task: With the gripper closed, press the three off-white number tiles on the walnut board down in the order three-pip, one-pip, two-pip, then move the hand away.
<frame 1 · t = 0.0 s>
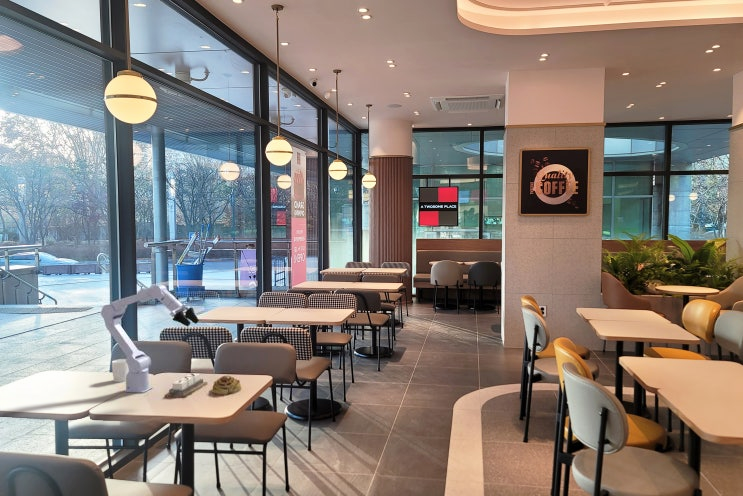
hand: (193, 323, 244), 32 cm above the table, tool tilted 50°, fingers open, 7 cm apart
pastry: (226, 391, 248), on the table
tile one: (179, 384, 243), point 4 cm above the table, slide at 0.0 cm
board: (186, 390, 249), on the table
tile three: (193, 377, 255), point 4 cm above the table, slide at 0.0 cm
white cup: (121, 380, 267), on the table
tile two: (186, 381, 249), point 4 cm above the table, slide at 0.0 cm
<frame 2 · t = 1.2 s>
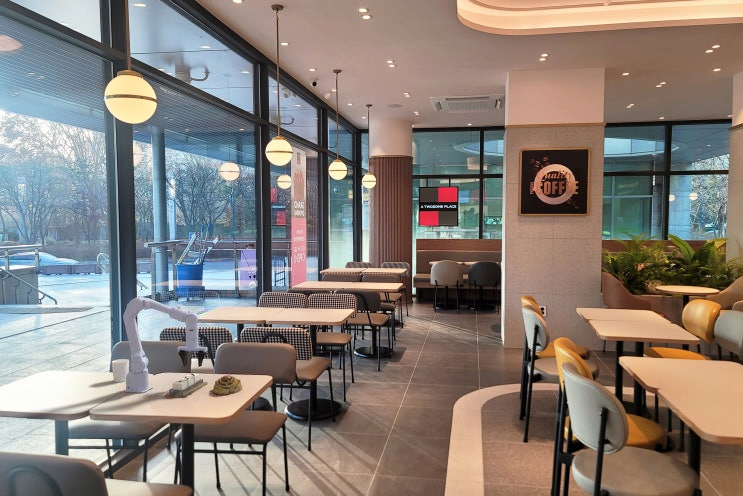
hand: (192, 366, 255), 10 cm above the table, tool pointing down, fingers open, 7 cm apart
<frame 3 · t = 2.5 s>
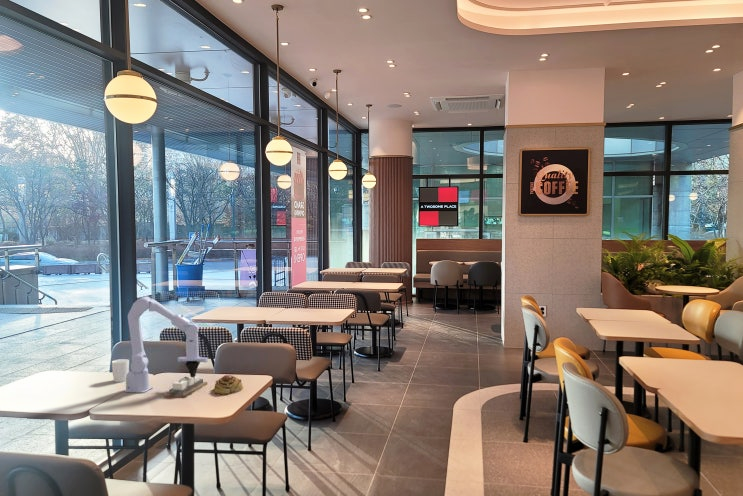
hand: (193, 376, 255), 5 cm above the table, tool pointing down, fingers closed, pressing on tile three
tile three: (193, 380, 255), point 3 cm above the table, slide at 1.2 cm, touching gripper
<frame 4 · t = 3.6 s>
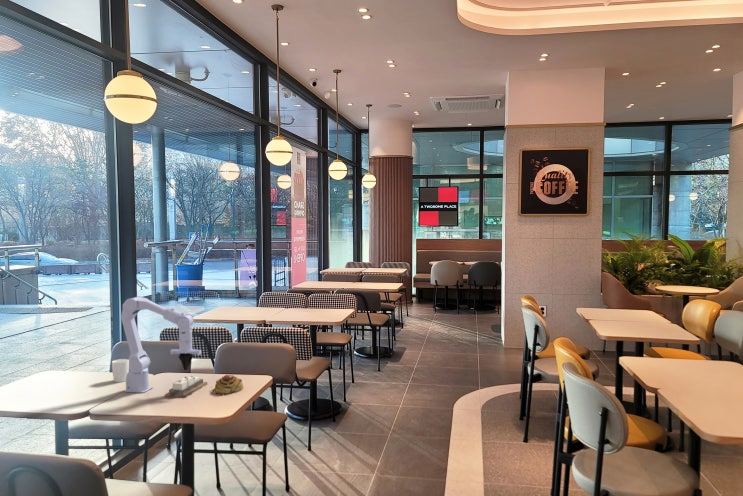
hand: (186, 369, 249), 10 cm above the table, tool pointing down, fingers closed
tile three: (193, 380, 255), point 3 cm above the table, slide at 1.4 cm
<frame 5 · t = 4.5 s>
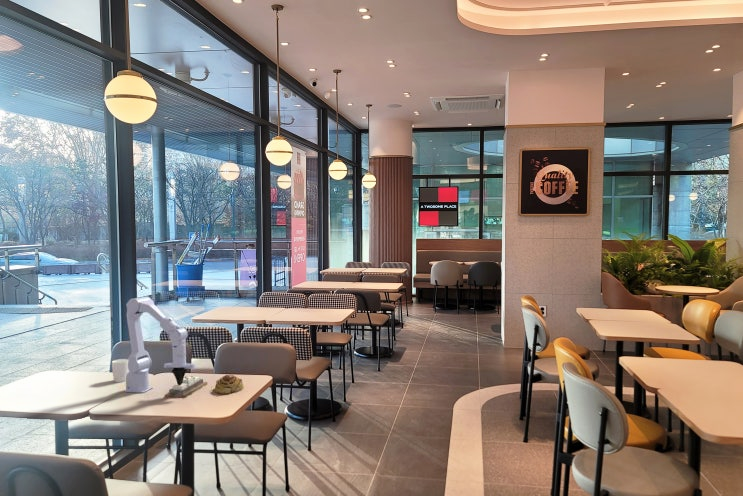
hand: (179, 384, 243), 5 cm above the table, tool pointing down, fingers closed, pressing on tile one
tile one: (179, 387, 243), point 3 cm above the table, slide at 1.3 cm, touching gripper
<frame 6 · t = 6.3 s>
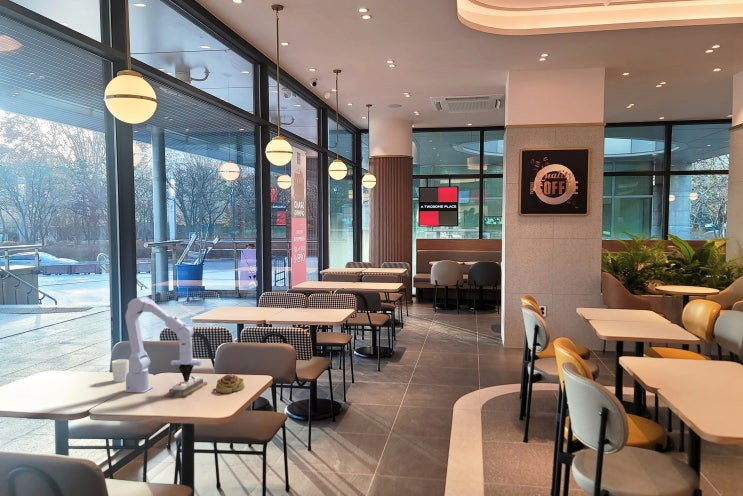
hand: (186, 380, 249), 5 cm above the table, tool pointing down, fingers closed, pressing on tile two
tile one: (180, 387, 243), point 3 cm above the table, slide at 1.4 cm
tile two: (186, 384, 249), point 3 cm above the table, slide at 1.3 cm, touching gripper
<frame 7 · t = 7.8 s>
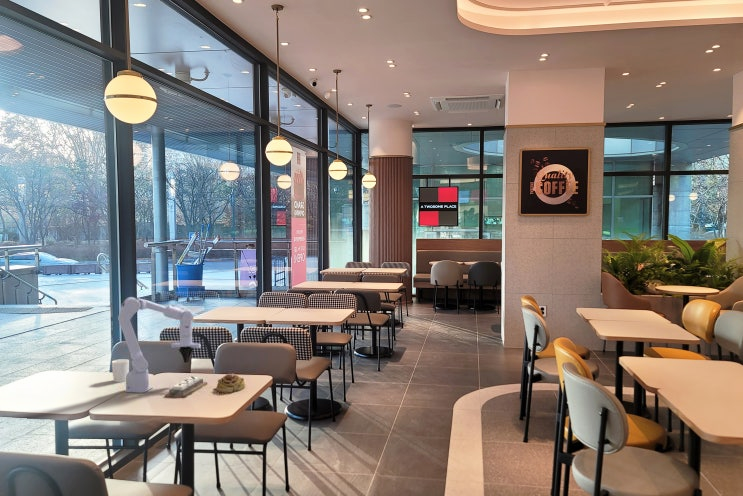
hand: (186, 362, 261), 10 cm above the table, tool pointing down, fingers closed
tile two: (186, 384, 249), point 3 cm above the table, slide at 1.4 cm
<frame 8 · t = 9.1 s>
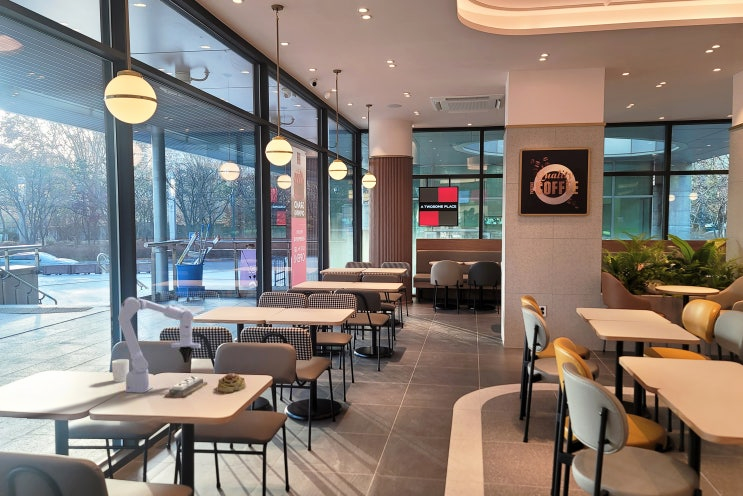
hand: (186, 362, 261), 10 cm above the table, tool pointing down, fingers closed
at the end: tile three slide at 1.4 cm; tile one slide at 1.4 cm; tile two slide at 1.4 cm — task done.
